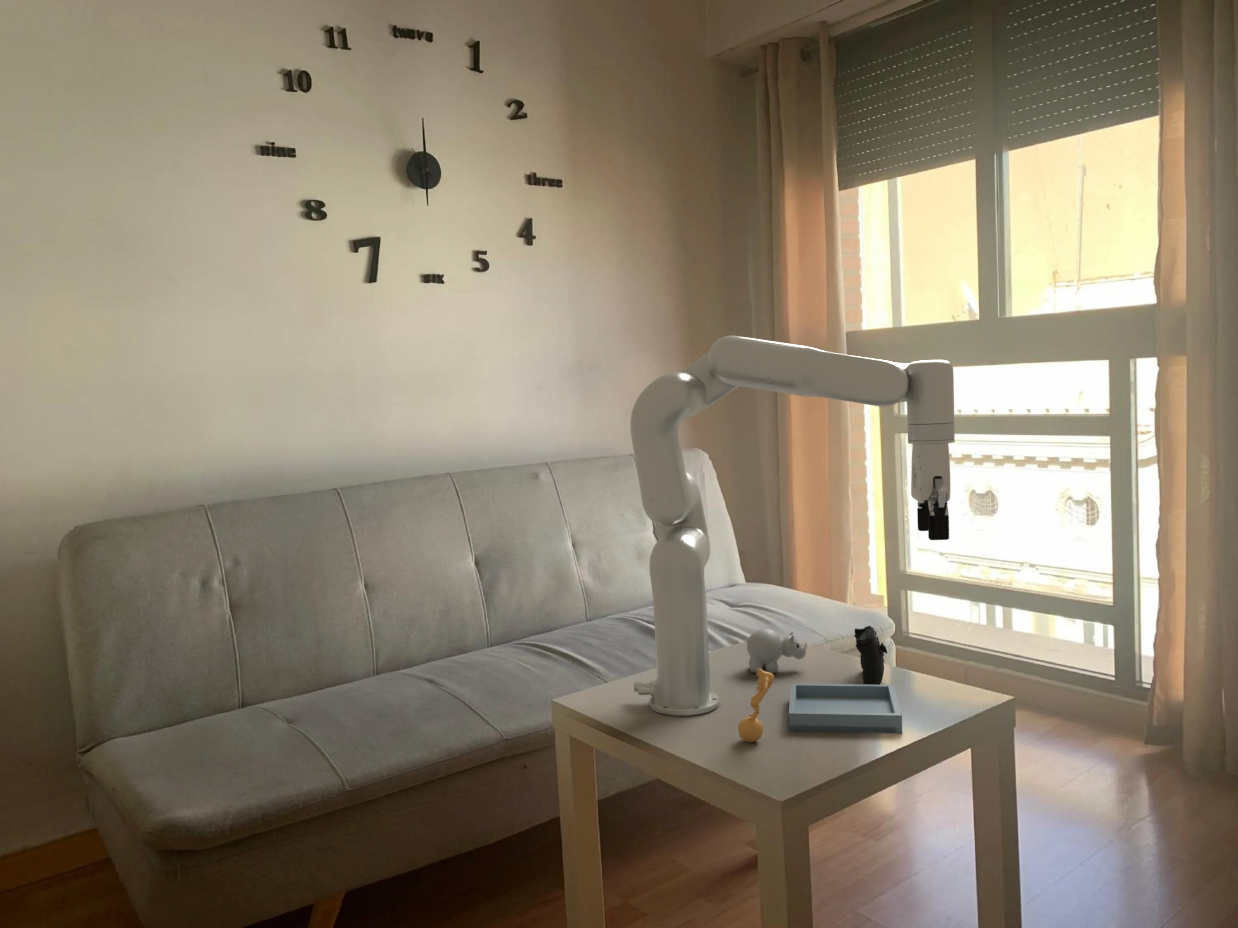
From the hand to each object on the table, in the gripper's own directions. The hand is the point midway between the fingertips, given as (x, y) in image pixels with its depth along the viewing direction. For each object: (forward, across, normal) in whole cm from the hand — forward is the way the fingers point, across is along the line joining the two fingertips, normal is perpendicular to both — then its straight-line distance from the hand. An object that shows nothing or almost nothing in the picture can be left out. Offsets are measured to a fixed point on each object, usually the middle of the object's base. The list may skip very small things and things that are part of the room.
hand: (933, 534), depth 164 cm
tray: (+31, +2, -16) cm, 34 cm away
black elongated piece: (+31, -17, -8) cm, 36 cm away
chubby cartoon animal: (+31, -25, -26) cm, 47 cm away
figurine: (+31, +14, -31) cm, 46 cm away
